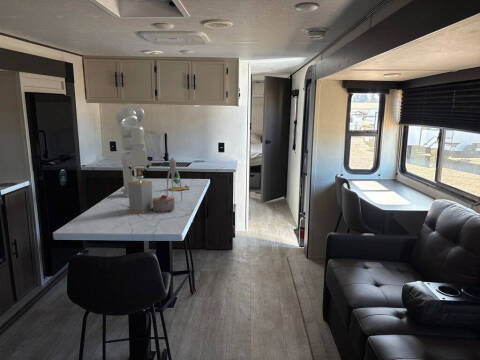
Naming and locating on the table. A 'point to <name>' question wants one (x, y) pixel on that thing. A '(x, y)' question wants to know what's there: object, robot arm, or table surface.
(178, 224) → the table surface
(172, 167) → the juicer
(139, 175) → the knob
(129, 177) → the robot arm
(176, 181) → the frog figurine
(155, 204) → the food item
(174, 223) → the table surface
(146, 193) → the beige tall block
